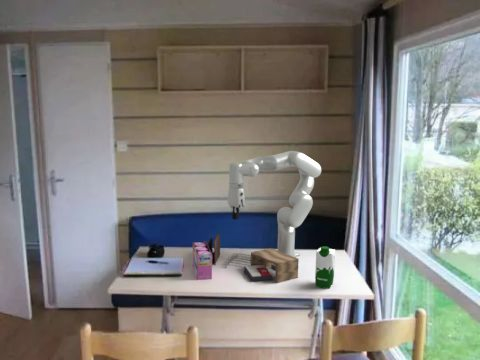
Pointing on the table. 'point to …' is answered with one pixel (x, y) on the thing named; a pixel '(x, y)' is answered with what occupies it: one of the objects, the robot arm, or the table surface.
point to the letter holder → (215, 248)
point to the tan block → (277, 263)
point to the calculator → (257, 273)
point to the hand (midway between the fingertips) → (235, 219)
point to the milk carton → (324, 267)
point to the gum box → (202, 261)
